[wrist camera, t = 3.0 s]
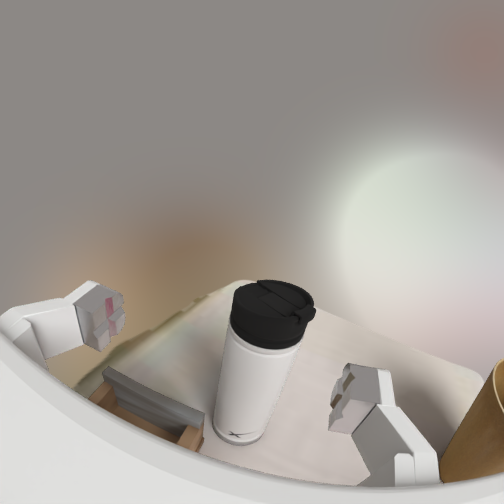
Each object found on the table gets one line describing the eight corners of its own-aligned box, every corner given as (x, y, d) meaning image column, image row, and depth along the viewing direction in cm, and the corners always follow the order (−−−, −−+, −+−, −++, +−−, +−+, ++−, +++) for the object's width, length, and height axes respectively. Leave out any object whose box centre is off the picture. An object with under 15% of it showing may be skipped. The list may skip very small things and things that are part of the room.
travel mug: (237, 457, 26) (282, 330, 17) (202, 419, 30) (218, 280, 21) (276, 430, 30) (334, 300, 21) (241, 397, 34) (274, 263, 26)
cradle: (158, 523, 16) (150, 513, 13) (62, 463, 18) (39, 436, 16) (203, 442, 27) (206, 414, 24) (116, 399, 29) (107, 365, 26)
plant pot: (426, 421, 31) (488, 343, 24) (490, 444, 24) (553, 374, 18) (404, 500, 19) (497, 430, 13) (480, 518, 12) (571, 452, 6)
